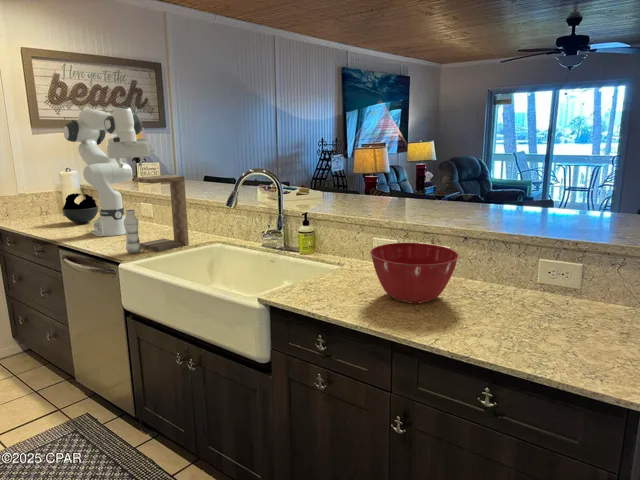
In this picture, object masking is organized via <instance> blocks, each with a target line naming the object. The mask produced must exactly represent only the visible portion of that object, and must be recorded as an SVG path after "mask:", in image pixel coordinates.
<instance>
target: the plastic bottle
mask: <svg viewBox="0 0 640 480" xmlns="http://www.w3.org/2000/svg"><path fill="white" fill-rule="evenodd" d="M125 215H126V216H125V219H124V227H125V231H126V234H125V236H126V237H125V238H126V244H125V250H126V252H127V253H129V254H136V253H140V252H141V251H142V248H141V244H140V243H141V242H140V236H139V219H138V218H137V217H136V216H135V215H136V213H135V209H126V210H125Z"/></svg>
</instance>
